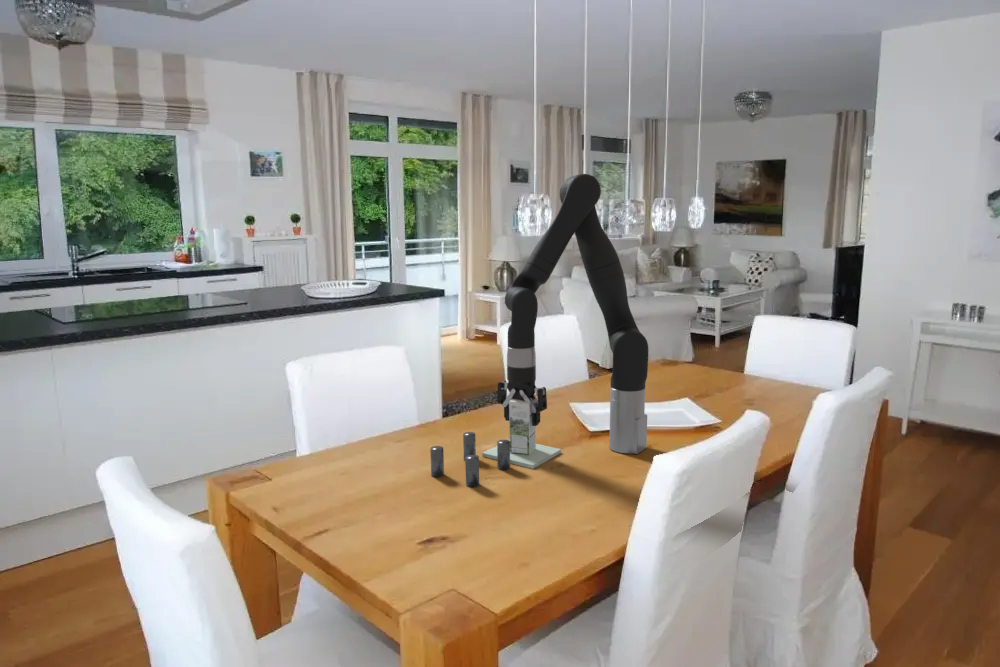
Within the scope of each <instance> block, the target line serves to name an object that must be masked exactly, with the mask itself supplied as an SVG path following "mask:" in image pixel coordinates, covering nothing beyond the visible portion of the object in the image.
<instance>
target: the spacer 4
mask: <svg viewBox="0 0 1000 667" xmlns="http://www.w3.org/2000/svg"><path fill="white" fill-rule="evenodd" d="M509 440H510V439H499V440H497V442H496V446H497V460H496V461H497V469H498V470H500V471H509V470H510V469H511V463H510V441H509Z"/></svg>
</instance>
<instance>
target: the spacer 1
mask: <svg viewBox="0 0 1000 667" xmlns="http://www.w3.org/2000/svg"><path fill="white" fill-rule="evenodd" d="M429 453H430V475H431V477H433V478H442V477H444V475H445V459H444V458H445V457H444V454H445V453H444V447H443V446H440V445H434V446H433V445H432V446H431V447H430V452H429Z"/></svg>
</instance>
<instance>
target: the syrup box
mask: <svg viewBox="0 0 1000 667" xmlns="http://www.w3.org/2000/svg"><path fill="white" fill-rule="evenodd" d="M530 400H531V401H533V399H530ZM532 412H533V411H532V409H531V408H530V404H529V403H526V402H525V401H522V400H517V399H513V398H512V399H511V400H510V401H509V440H510V453H516V454H524V455H530V454H531V453H532V452H533V451H534V450H535V449H536V444H537V442H536V427H537V426H532Z"/></svg>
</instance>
